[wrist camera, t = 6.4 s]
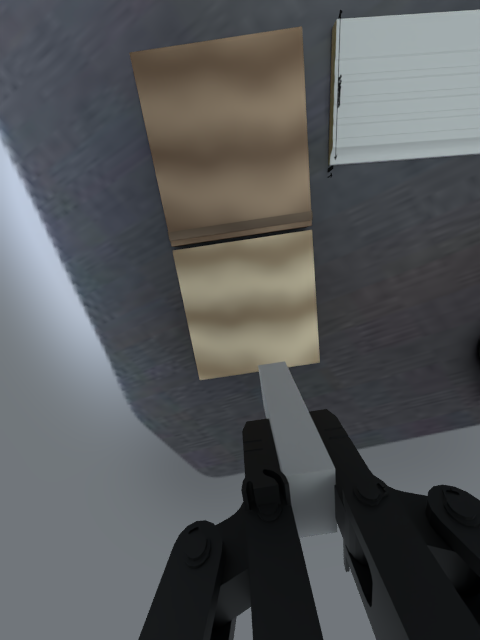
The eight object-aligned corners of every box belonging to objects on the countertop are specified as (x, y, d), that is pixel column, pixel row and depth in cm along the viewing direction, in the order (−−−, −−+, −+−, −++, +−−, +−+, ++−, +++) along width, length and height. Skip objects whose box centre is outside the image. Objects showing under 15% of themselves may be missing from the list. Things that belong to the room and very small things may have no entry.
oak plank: (176, 251, 25) (172, 250, 23) (305, 231, 25) (311, 229, 23) (201, 371, 29) (199, 380, 27) (313, 355, 29) (319, 362, 27)
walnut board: (138, 70, 21) (127, 49, 19) (295, 47, 21) (303, 23, 19) (175, 246, 25) (170, 246, 23) (305, 227, 25) (312, 225, 23)
